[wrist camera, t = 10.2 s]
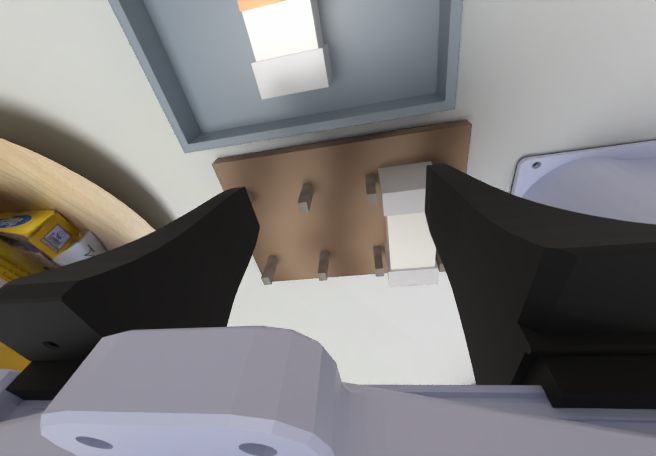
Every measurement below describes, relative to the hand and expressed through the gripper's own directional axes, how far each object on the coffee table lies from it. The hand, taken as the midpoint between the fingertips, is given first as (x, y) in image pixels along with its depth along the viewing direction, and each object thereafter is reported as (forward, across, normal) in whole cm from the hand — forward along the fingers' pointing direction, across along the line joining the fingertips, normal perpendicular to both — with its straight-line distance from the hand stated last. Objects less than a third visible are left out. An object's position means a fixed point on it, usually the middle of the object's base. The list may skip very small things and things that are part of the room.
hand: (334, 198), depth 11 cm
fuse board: (+9, +1, +7) cm, 11 cm away
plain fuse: (+8, -4, +7) cm, 11 cm away
